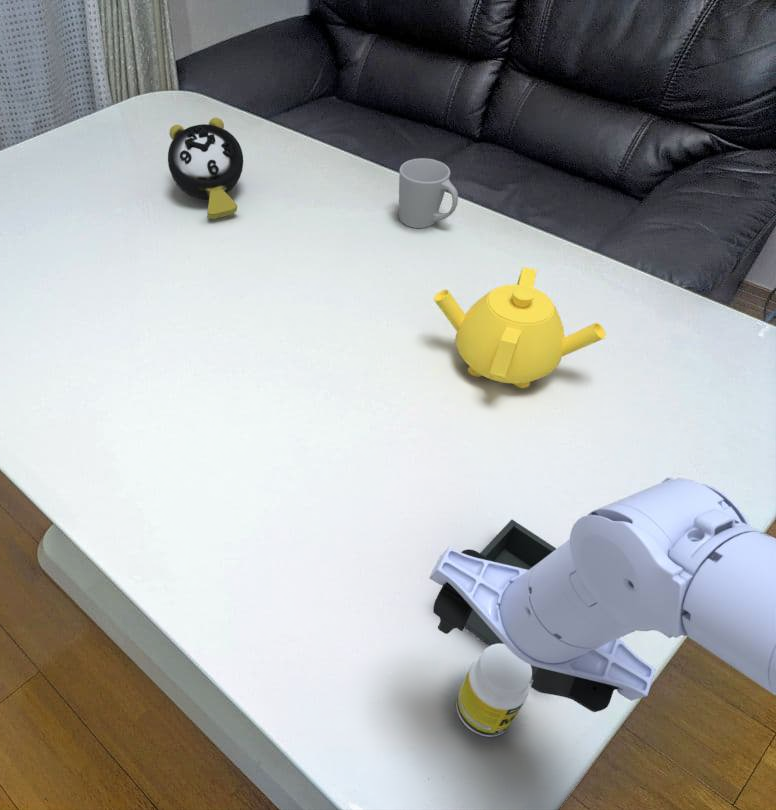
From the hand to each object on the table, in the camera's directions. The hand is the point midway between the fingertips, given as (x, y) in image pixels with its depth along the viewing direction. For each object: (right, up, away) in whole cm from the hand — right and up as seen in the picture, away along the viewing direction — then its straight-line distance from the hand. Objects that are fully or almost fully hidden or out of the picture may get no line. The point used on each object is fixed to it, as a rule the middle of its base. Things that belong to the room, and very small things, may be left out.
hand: (492, 648), depth 56 cm
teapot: (+15, +24, +38) cm, 47 cm away
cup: (+11, +48, +62) cm, 79 cm away
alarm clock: (-24, +54, +70) cm, 91 cm away
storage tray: (+8, -1, +14) cm, 16 cm away
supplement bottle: (+2, -8, +8) cm, 12 cm away
